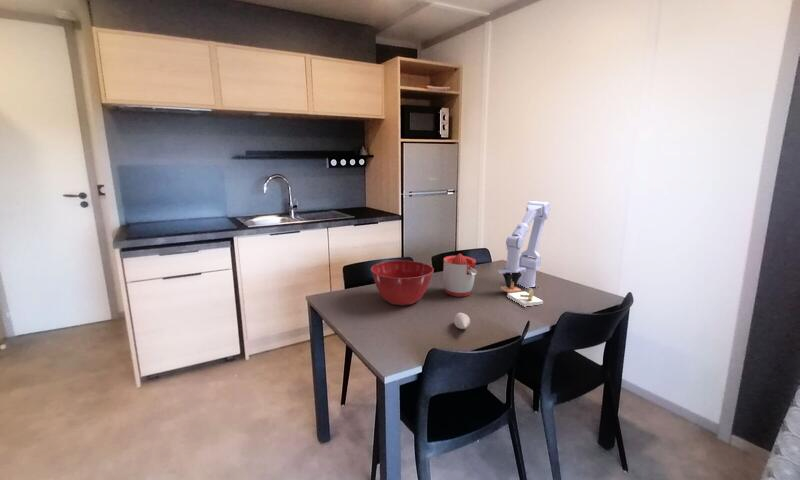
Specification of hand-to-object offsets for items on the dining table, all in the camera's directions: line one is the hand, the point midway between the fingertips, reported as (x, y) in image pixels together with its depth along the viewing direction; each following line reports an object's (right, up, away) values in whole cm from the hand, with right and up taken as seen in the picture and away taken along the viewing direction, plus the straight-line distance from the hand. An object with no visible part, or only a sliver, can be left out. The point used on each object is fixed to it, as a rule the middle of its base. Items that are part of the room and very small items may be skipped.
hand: (510, 286), depth 189 cm
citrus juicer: (-25, -3, -1) cm, 26 cm away
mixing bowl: (-54, -5, -11) cm, 55 cm away
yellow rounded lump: (+3, -4, -13) cm, 14 cm away
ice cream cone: (-30, -12, -40) cm, 52 cm away
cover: (0, -2, 0) cm, 2 cm away
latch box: (+4, -6, -9) cm, 11 cm away
